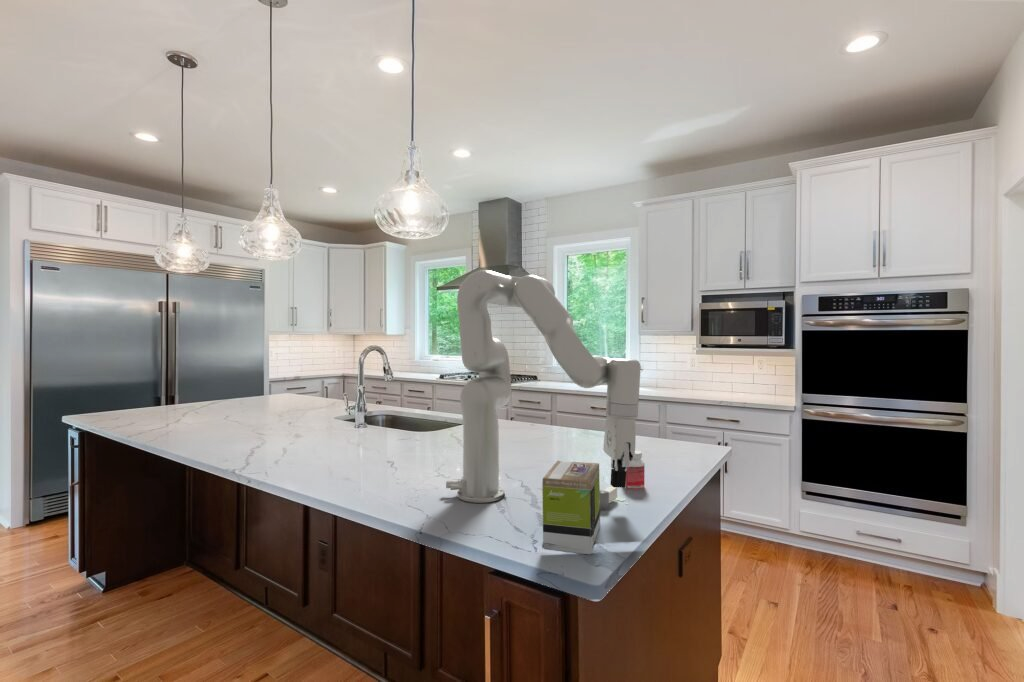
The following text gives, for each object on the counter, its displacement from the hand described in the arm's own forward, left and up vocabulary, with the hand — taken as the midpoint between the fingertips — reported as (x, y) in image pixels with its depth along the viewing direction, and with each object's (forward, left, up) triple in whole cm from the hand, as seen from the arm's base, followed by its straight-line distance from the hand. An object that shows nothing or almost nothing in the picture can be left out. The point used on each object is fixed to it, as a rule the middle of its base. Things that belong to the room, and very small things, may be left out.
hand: (617, 486), depth 120 cm
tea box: (-14, -13, -7) cm, 20 cm away
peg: (-2, +3, -6) cm, 7 cm away
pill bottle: (+10, +17, -7) cm, 21 cm away
